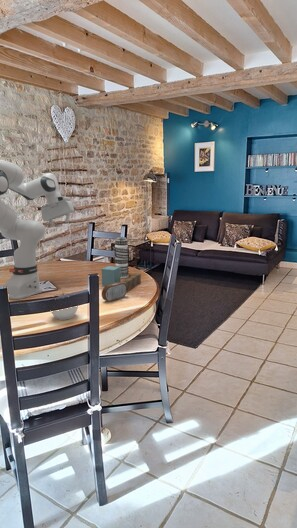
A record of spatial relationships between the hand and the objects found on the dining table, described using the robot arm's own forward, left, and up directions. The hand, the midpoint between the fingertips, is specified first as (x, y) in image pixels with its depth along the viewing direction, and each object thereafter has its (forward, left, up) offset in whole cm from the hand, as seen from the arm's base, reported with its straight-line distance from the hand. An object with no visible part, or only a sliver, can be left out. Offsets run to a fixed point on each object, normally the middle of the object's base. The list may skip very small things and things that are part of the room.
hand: (60, 224), depth 207 cm
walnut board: (+4, -43, -34) cm, 55 cm away
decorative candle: (+23, -28, -35) cm, 50 cm away
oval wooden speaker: (-20, -44, -35) cm, 60 cm away
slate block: (+4, -30, -34) cm, 46 cm away
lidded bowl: (-50, -34, -35) cm, 70 cm away
